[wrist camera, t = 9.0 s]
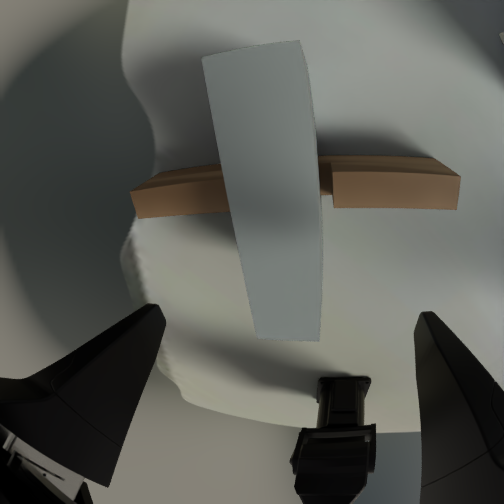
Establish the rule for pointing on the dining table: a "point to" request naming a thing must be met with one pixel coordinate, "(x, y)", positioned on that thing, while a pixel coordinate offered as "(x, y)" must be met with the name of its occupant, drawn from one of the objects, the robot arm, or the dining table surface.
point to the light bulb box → (502, 36)
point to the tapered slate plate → (271, 182)
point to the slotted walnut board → (331, 183)
